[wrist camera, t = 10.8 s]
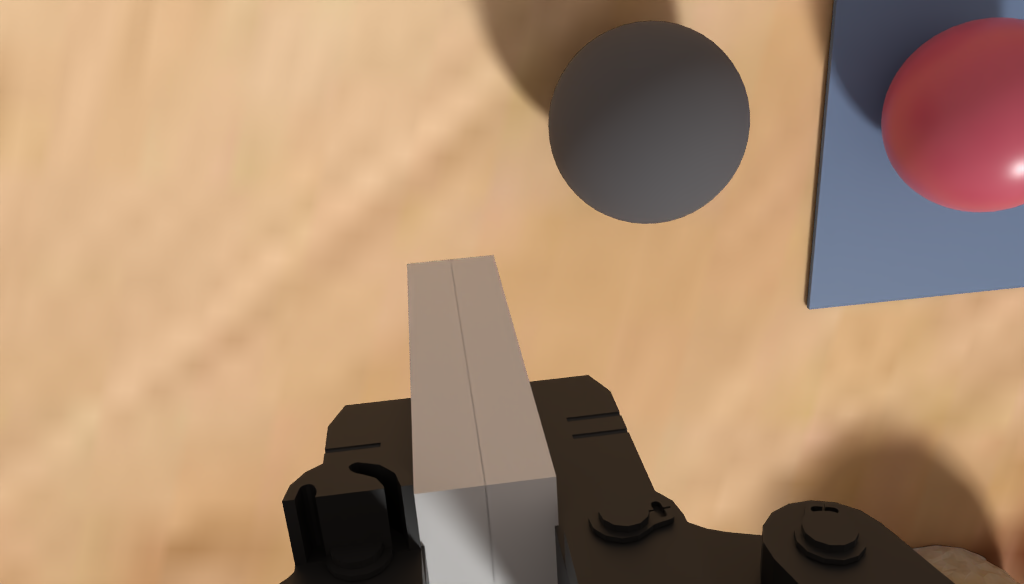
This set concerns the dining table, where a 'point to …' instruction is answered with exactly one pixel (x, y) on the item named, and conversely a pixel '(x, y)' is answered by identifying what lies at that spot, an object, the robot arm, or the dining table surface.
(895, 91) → the red object ball
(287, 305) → the dining table surface
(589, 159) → the dark gray ball
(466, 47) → the dining table surface
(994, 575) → the coral
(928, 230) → the blue flat square slab
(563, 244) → the dining table surface
